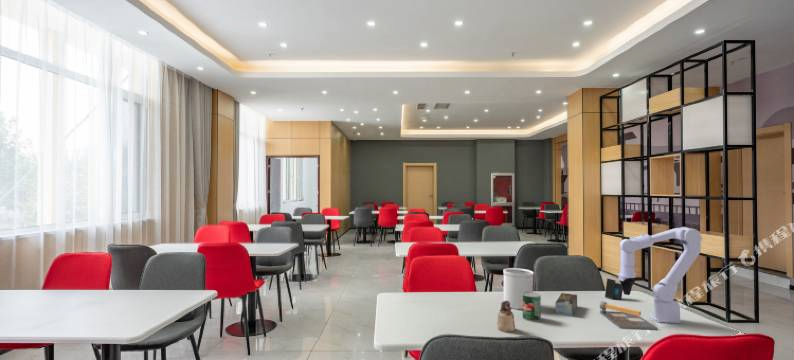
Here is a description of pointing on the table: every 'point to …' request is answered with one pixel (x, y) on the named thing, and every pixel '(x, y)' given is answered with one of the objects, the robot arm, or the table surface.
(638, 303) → the table surface
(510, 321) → the figurine
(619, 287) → the speaker
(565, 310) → the beverage carton
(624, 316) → the panel
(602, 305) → the swing arm
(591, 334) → the table surface
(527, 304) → the canned tomato
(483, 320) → the table surface
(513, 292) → the utensil holder
